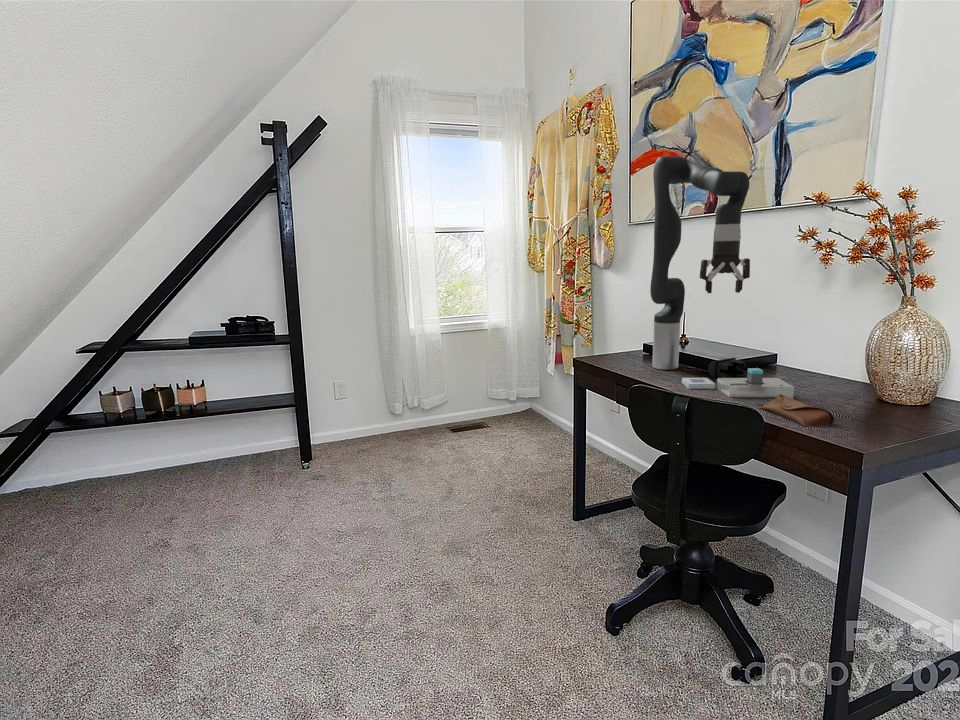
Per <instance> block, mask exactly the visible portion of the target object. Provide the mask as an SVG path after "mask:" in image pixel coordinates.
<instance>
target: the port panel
mask: <svg viewBox="0 0 960 720" xmlns="http://www.w3.org/2000/svg"><path fill="white" fill-rule="evenodd" d="M716 378H717V379H716V388H717V389H718V390H719V391H721V392H722V393H723V394H724V395H726V396H728V397H729V398H777V397H779V395H780V394H781V395H783V396H785V397H788V398H790V399H794V393H795V386H794V385H791V384H789V383H788V382H786V381H784V380H782V379H781V378H779V377H763V379H762V384H748V383H747V377H732V378H720V377H716Z"/></svg>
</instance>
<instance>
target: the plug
mask: <svg viewBox="0 0 960 720" xmlns="http://www.w3.org/2000/svg"><path fill="white" fill-rule="evenodd" d="M746 374H747V376H746V378H747V383H748V384H762V379H763V378H764V370H763V369H761V368H759V367H755V368H754V367H752V368H749V367H748V368H747V373H746Z"/></svg>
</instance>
